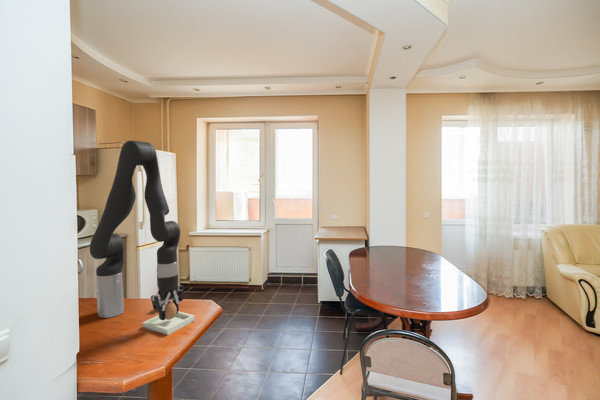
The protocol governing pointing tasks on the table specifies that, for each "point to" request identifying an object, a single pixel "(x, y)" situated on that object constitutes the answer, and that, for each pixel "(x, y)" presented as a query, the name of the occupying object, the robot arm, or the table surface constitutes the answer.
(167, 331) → the dish
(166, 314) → the egg
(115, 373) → the table surface
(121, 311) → the robot arm
